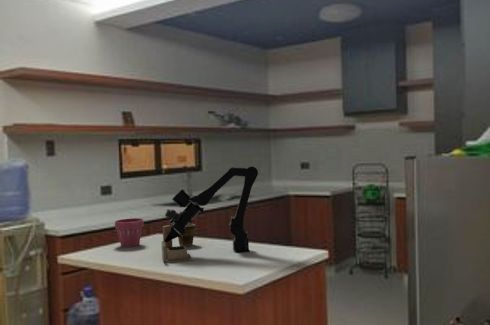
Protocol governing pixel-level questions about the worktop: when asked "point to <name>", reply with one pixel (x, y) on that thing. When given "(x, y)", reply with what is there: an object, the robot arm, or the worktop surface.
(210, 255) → the worktop surface
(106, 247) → the worktop surface
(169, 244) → the wooden pestle
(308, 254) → the worktop surface
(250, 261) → the worktop surface
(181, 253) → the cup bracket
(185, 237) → the ceramic cup
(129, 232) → the plant pot
